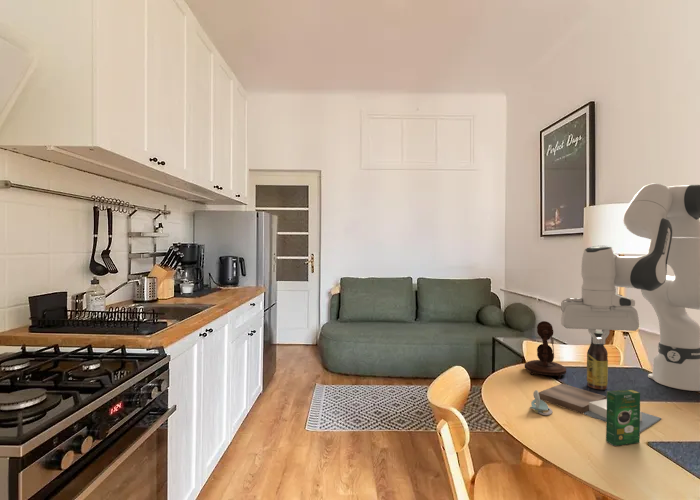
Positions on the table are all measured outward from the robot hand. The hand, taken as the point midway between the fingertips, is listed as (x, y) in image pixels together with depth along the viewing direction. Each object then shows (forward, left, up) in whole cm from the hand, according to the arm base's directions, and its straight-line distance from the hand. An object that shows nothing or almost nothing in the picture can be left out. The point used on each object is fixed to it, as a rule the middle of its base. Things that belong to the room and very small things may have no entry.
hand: (598, 343), depth 117 cm
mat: (0, +6, -20) cm, 21 cm away
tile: (+2, +5, -20) cm, 21 cm away
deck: (0, -8, -20) cm, 22 cm away
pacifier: (+16, -9, -21) cm, 27 cm away
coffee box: (+17, +13, -20) cm, 29 cm away
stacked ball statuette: (-19, -28, -20) cm, 40 cm away
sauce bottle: (-19, -9, -20) cm, 30 cm away
